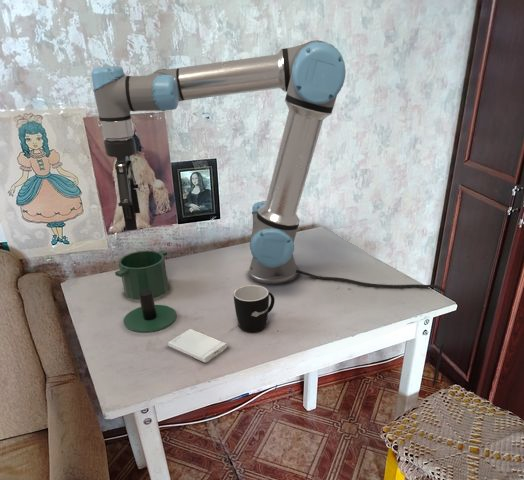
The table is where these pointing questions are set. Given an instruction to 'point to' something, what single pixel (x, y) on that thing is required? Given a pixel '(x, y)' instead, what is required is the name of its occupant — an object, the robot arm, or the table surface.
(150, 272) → the pot
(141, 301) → the lid
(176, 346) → the hard drive
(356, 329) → the table surface
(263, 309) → the mug
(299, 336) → the table surface
